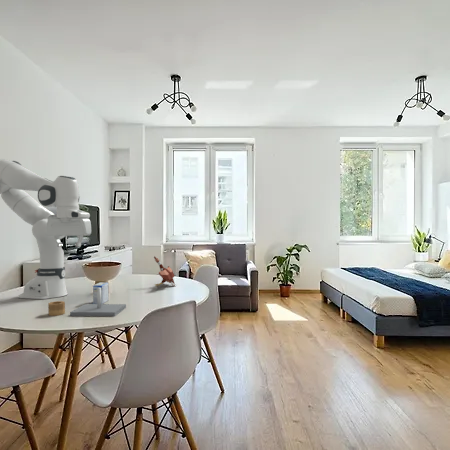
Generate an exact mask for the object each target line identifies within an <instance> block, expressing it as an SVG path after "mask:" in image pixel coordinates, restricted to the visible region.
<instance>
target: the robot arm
mask: <svg viewBox="0 0 450 450" xmlns="http://www.w3.org/2000/svg"><path fill="white" fill-rule="evenodd" d="M27 191H32V192H37V199H38V201H37V199H35V198H34V197H33V196H31V195H30V194H29V193H28V192H27ZM0 195H1V199H2V200H3V202H4V203H5V204H6V205H7V206H8V208H9V209H10V210H12V212H14V213H15V214H16V215H17V216H18V217H19V218H20V219H22V220H23V221H24V222H25V223H27V224H29V225H31V226H32V227H31V233H32V235H33V236H34V238H35V240H36V242H37V243H36V244H37V247H38V251H39V268H37V269H36V270H34V273H36V275H35V276H34V277H33V278H32V279H30V280H29V281H28V282H26V283H25V285H24V287H23V292H22V293H20V294H19V295H18V297H17V298H18V299H35V300H47V299H53V298H60V297H64V296H66V295H68V294H69V293H68V290H67V286H66V266H65V253H64V249H63V248H62V247H63V242H61V240H62V239H64V238H65V237H71V236H72V237H77V241H76V242H75V243H74V245H75V247H77V248H79V247H81V246H82V242H83V240H84V236H85V237H86V236H88V237H89V236H91V234H92V223H91V220H90V217H91V214H90V213H89V212H87V211H84V210H81V209H80V205H79V204H80V203H79V202H80V190H79V182H78V180H77V178H75V177H73V176H66V175H59V176H57V177H56V178H55V179H54V180H53V181H52V180H50V179H48V178H45V177H43V176H42V175H40V174H37V173H36V172H34V171H32V170H31V169H29V168H26V167H25V166H23V165H22V164H21V163H20V162H19V161H16V160H10V159H5V158H0ZM46 207H47V208H56V214H55V213H53V212H52V211H50V210H48V209H47V208H46Z"/></svg>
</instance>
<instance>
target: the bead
mask: <svg viewBox="0 0 450 450" xmlns="http://www.w3.org/2000/svg"><path fill="white" fill-rule="evenodd" d="M47 307H48V309H47V311H48V316H51V317H55V316H63V315H65V314H66V303H65V301H64V300H63V301H62V300H57V301H50V302H48V305H47Z"/></svg>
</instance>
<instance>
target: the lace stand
mask: <svg viewBox="0 0 450 450" xmlns="http://www.w3.org/2000/svg"><path fill="white" fill-rule="evenodd" d="M126 308H127V304H126V303H123V304H121V303H119V304H118V303H103V304H101V288H97V304H93V303H84V304H83V305H81V306H78V307H77V308H75V309H73V310H71V311H69V317H116V316H117V315H118V314H119V313H122V311H124V310H125V309H126Z"/></svg>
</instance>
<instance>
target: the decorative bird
mask: <svg viewBox="0 0 450 450" xmlns="http://www.w3.org/2000/svg"><path fill="white" fill-rule="evenodd" d="M153 258H154V261H155V262H156V263H157V265H158V266H159V270H160V271H158V275H159V277H161V279H162V280H161V282H159V283H156V284H154V286H156V287H158V286H160V285H164V284H165V283H166V282H167V283H169V284H170V285H171V286H173V287H176V286H175V285H176V284H175V281H174V277H175V276H176V275H175V273H174V271H173V270H172V268H171V267H170V265H169V266H167V268H166V267H164V265H163V264H162V262H161V261H160V259H159V258H157V257H156V256H155V255H154V257H153Z"/></svg>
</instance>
